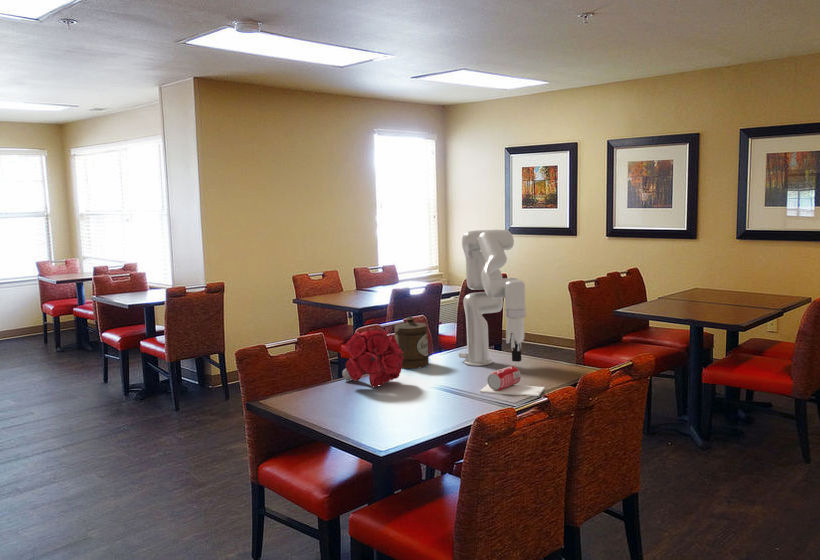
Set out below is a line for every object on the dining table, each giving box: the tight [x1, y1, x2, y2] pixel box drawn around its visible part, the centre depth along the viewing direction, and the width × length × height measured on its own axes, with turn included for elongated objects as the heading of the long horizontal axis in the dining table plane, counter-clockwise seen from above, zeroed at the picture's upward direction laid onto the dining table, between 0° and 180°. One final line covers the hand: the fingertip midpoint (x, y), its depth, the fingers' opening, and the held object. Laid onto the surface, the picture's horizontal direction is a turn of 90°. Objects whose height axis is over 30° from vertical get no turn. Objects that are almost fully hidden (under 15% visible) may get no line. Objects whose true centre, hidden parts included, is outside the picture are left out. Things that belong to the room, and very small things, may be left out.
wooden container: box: [394, 316, 429, 369], centre depth 296 cm, size 15×15×22 cm
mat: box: [479, 383, 545, 397], centre depth 248 cm, size 22×11×1 cm, turn 67°
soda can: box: [486, 365, 522, 390], centre depth 251 cm, size 7×7×13 cm
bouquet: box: [341, 329, 404, 388], centre depth 265 cm, size 22×24×30 cm
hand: (516, 360), depth 250 cm, fingers closed
